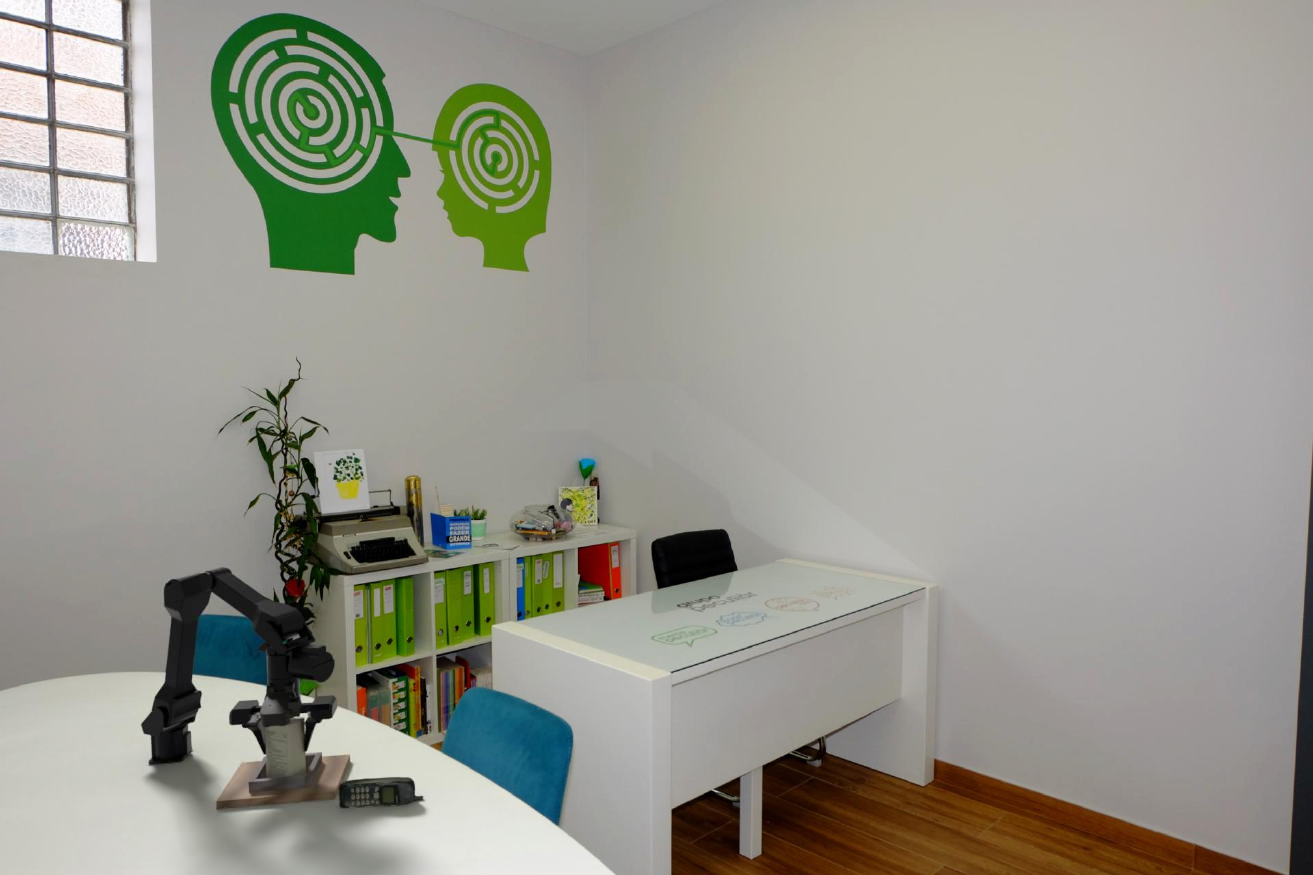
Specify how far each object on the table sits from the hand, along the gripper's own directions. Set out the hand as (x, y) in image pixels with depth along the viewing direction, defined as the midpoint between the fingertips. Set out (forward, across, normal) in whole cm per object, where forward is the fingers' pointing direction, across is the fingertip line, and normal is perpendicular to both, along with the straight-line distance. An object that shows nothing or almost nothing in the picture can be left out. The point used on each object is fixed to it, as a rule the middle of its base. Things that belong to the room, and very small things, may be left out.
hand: (285, 752), depth 168 cm
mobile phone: (+7, +19, -11) cm, 23 cm away
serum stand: (+6, 0, 0) cm, 6 cm away
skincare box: (+6, 0, 0) cm, 6 cm away
